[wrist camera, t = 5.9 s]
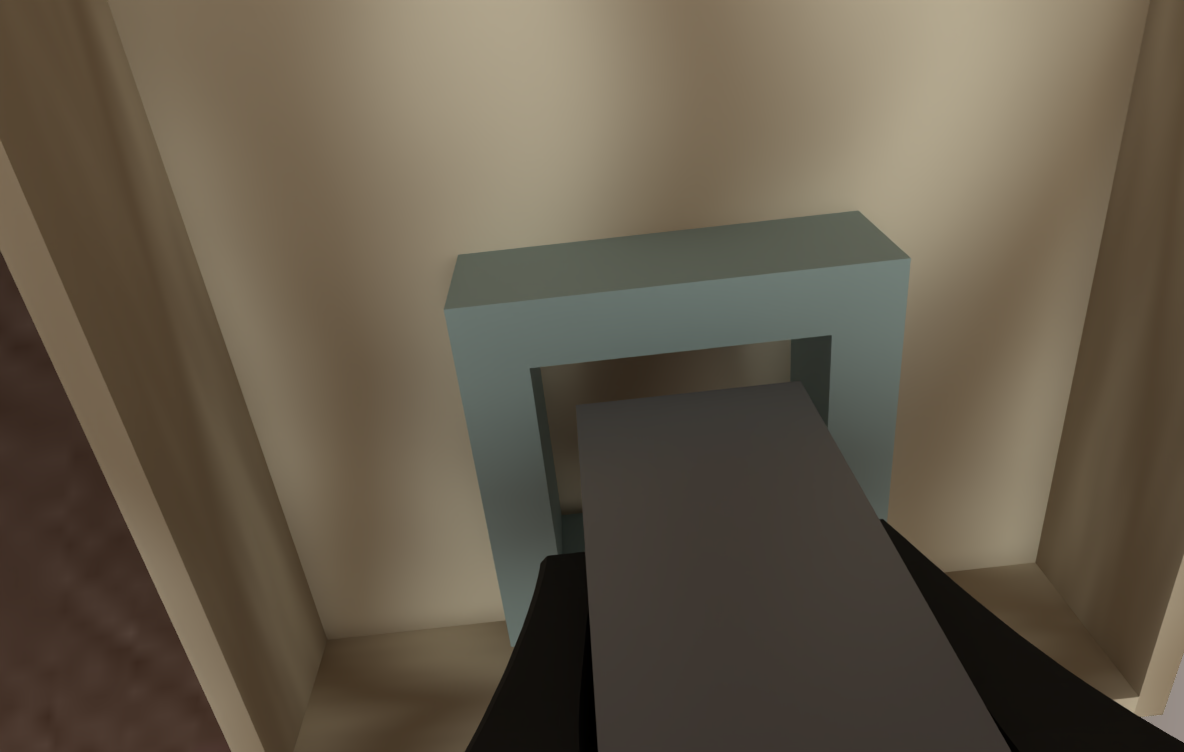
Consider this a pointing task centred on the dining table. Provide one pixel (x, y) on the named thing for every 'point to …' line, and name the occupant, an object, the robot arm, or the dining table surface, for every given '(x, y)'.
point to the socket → (668, 348)
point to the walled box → (570, 214)
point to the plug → (754, 589)
